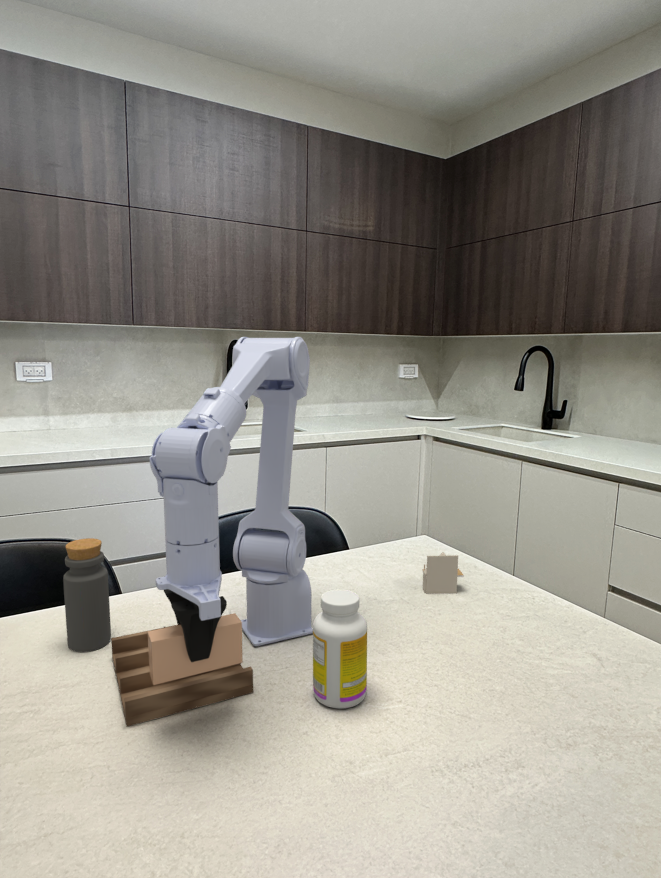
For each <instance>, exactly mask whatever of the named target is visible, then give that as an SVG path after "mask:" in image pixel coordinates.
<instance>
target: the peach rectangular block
mask: <svg viewBox="0 0 661 878" xmlns="http://www.w3.org/2000/svg"><path fill="white" fill-rule="evenodd" d="M241 620H242V619H240V618H239V616H238V615H237V614H236V613H235V612H234V613H233V612H232V613H230V614H229V613H228V614H226V615H222V616H221V618H220V620H219V622H218V624H217V627H216V631H215V635H214V639H213V644H212V649H211V653H210V656H209V658H208V659H204V660H200V661H195V662H191V661H190V659H189V656H188V653H187V649H186V644H185V639H184V634H183V630H182V626H181V625H178V624H176V625H177V626H173V625H171V626H172V627H168V626H166V627H167V628H164V627H161V628H162V629H159V628H157V629H158V630H154V629H152V630H153V631H149V630H147V631H148V652H149V673H150V676H151V679H152V682H153V685H156V684H160V683H164V682H168V681H172V680H176V679H180V678H184V677H188V676H192V675H196V674H200V673H204V672H208V671H212V670H215V669H219V668H223V667H227V666H231V665H235V664H239V663H241V664H243V663H244V662H243V630H242V622H241Z"/></svg>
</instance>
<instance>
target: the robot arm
mask: <svg viewBox="0 0 661 878" xmlns="http://www.w3.org/2000/svg"><path fill="white" fill-rule="evenodd" d="M232 348H233V349H232V366H231V367H230V370H229V371H228V372H227V374H226V376H225V378H224V380H223V381H222V383H221V384H220V386H214V387H208V388H206V389H205V390H204V392H203V394H202V395H201V397H199V398H198V400H197V401H196V403H195V404H194V405H193V406H192V408H191V409H190V410H189V412H187V414H186V415H185V417H183V419H182V420H181V422H179V424H178V425H177V426H176V427H168V428H166V429H165V430H164V431H162V432H160V433H159V434H158V435H157V436H156V438H155V439H154V441H153V444H152V448H151V456H149V466H150V469H151V472H152V474H153V476H154V477H155V479H156V484H157V493H159V496H160V497H162V498H163V513H164V514H163V515H164V539H165V541H164V542H165V561H166V562H165V563H166V565H165V567H166V574H165V575H163V576H158V577H156V578H155V586H156V589H157V590H159V591H163V592H164V595H165V596H166V598H167V599H168V601H169V603H170V606H171V608H172V610H173V613H174V615H175V619H176V623H177V624H176V625H181V626H182V630H183V634H184V639H185V644H186V649H187V653H188V656H189V659H190V661H191V662H195V661H200V660H204V659H208V658H209V656H210V653H211V649H212V644H213V639H214V635H215V631H216V627H217V624H218V622H219V620H220V618H221V616H223V614H224V613H225V610H226V609H227V600H226V598H225V597H224V596H223V595H222V596H220V591H221V585H222V580H223V578H222V577H223V576H222V575H223V572H222V571H221V569H220V567H221V563H220V559H221V558H220V529H219V528H220V527H219V526H220V525H219V524H220V523H219V492H218V491H219V490H218V489H219V488H218V485H219V480H221V478H222V477H223V476H224V475H225V472H226V468H227V465H228V457H229V454H230V452H231V449H232V446H231V442H232V440H233V438H234V437H235V435H236V434H237V432H238V431H239V429H240V427H241V426H242V424H243V423H244V421H245V419H246V417H247V407H246V405H245V404H246V402H247V401H248V400H249V399H250V398H251V397H252V396H253V397H255V398H258V399H259V400H260V402H261V404H262V405H263V408H262V410H263V411H262V420H261V421H262V422H261V433H260V435H261V436H260V446H259V457H258V458H259V460H258V470H257V471H258V472H257V483H256V484H257V486H256V496H255V509H254V510H252V512H250V513H248V514H247V515H246V516H244V517H243V518H242V519H240V521H239V522H238V527H237V528H238V529H237V534H236V537H235V539H234V542H233V543H234V544H233V547H232V548H233V549H232V557H233V558H232V559H233V562H234V564H235V566H236V568H237V569H238V570H240V571H241V577H242V578H245V579H246V580H245V581H246V583H245V584H246V585H245V586H246V592H245V593H246V618H244V619H240V620H241V622H242V632H243V633H244V634H245V636H246V637H247V638H248V640H249V641H250V643H251V644H252V646H254V647H259V646H264V645H268V644H273V643H277V642H281V641H286V640H290V639H294V638H298V637H302V636H306V635H307V636H308V635H310V634H312V635H313V627H312V587H311V581H310V578H309V575H308V574H307V572H306V571H305V570H304V566H305V563H306V558H307V542H306V527H305V524H304V523H303V522H302V521H301V520H300V519H299V518H298V517H296V516H295V515H294V514H293V512H291V511H290V510H289V503H290V494H291V493H290V490H291V477H292V464H293V451H294V450H293V449H294V435H295V423H296V415H297V414H296V413H297V412H296V411H297V405H298V401H299V400H302V398H305V397H307V393H308V389H309V381H310V380H309V376H310V368H311V367H310V365H311V358H310V354H309V348H308V344H307V342H306V341H305V340H304V338H303V337H302V336H295V337H248V336H242V337H239V338H238V340H237V341H236V343H235V344H234V345H233V347H232ZM261 529H263V530H261ZM270 530H272V531H270ZM279 531H280V532H279Z"/></svg>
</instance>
